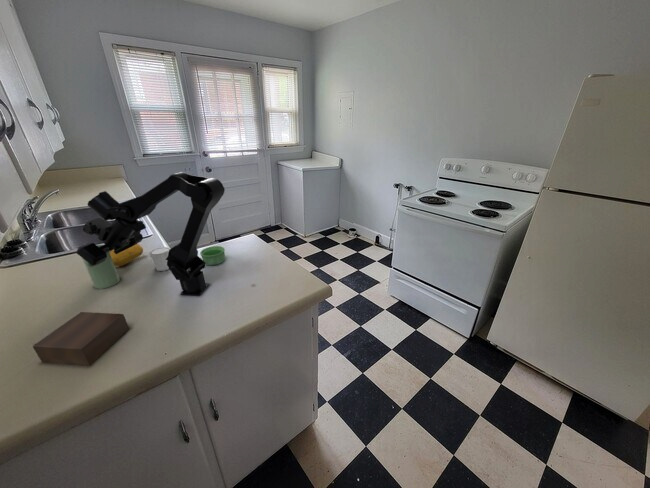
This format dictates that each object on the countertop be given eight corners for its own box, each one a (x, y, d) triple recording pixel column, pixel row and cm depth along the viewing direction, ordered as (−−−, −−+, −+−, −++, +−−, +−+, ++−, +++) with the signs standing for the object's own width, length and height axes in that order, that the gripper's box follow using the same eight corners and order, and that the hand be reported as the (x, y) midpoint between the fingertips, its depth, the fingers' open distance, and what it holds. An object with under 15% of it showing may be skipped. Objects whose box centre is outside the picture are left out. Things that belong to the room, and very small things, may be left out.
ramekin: (217, 253, 113) (215, 244, 111) (231, 259, 108) (229, 249, 106) (197, 262, 106) (195, 252, 104) (210, 268, 101) (208, 258, 99)
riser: (129, 328, 72) (123, 313, 70) (89, 365, 61) (81, 349, 59) (88, 326, 73) (81, 311, 71) (42, 362, 62) (32, 346, 60)
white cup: (165, 272, 99) (160, 255, 96) (150, 270, 100) (144, 254, 98) (178, 263, 105) (174, 247, 102) (163, 262, 107) (158, 246, 104)
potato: (102, 268, 102) (96, 252, 99) (137, 253, 114) (132, 238, 111) (115, 272, 100) (109, 255, 97) (150, 256, 111) (145, 241, 108)
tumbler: (124, 278, 96) (112, 244, 91) (108, 289, 90) (94, 254, 84) (106, 277, 97) (93, 244, 91) (89, 288, 90) (73, 253, 85)
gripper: (124, 202, 90) (107, 232, 96) (68, 221, 73) (51, 255, 79) (152, 226, 92) (133, 253, 98) (103, 249, 75) (84, 280, 81)
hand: (103, 259), depth 89 cm, fingers open, 9 cm apart
